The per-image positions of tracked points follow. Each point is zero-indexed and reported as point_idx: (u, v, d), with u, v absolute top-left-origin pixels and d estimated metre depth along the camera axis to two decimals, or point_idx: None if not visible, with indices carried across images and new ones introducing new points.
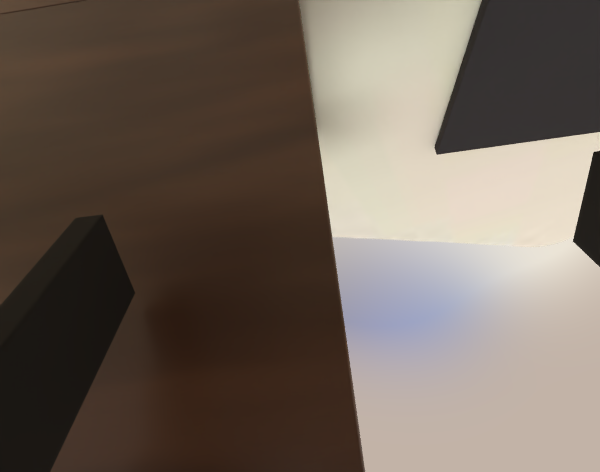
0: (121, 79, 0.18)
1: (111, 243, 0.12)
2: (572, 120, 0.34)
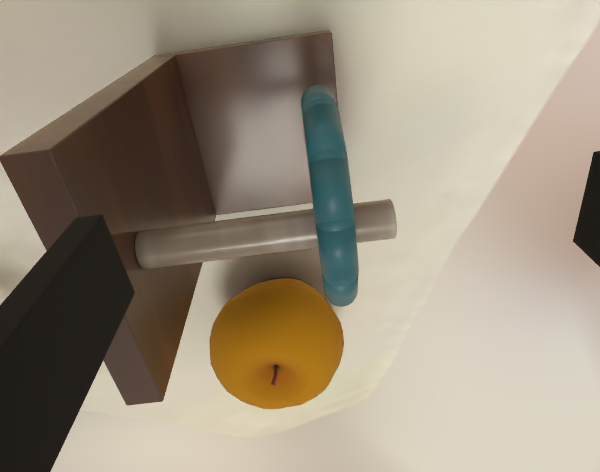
0: None
1: (111, 243, 0.12)
2: None
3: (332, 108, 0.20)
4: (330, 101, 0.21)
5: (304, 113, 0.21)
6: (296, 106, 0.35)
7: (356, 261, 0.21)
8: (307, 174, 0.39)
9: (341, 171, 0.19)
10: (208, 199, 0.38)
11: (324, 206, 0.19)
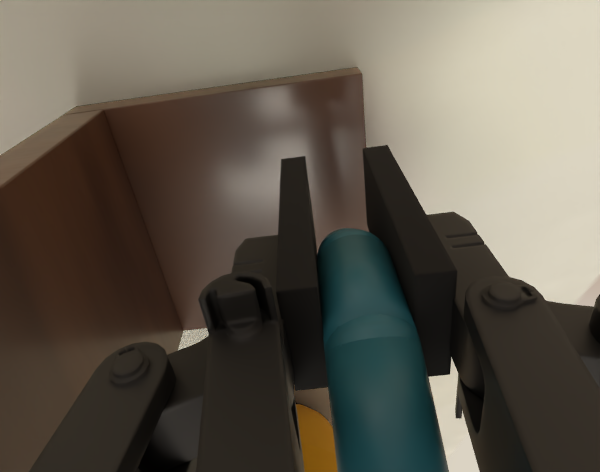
0: None
1: (308, 183, 0.14)
2: None
3: (408, 350, 0.07)
4: (400, 322, 0.08)
5: (330, 350, 0.08)
6: None
7: None
8: None
9: None
10: (168, 317, 0.25)
11: None
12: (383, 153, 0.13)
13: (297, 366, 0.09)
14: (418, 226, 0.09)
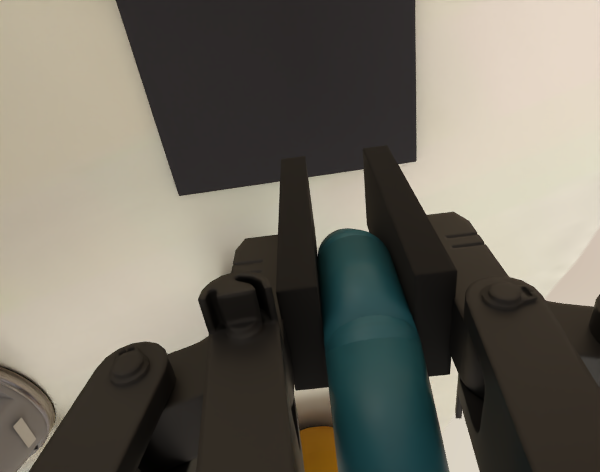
0: None
1: (308, 183, 0.14)
2: (382, 32, 0.31)
3: (409, 351, 0.07)
4: (401, 323, 0.08)
5: (331, 351, 0.08)
6: None
7: None
8: None
9: None
10: None
11: None
12: (383, 153, 0.13)
13: (297, 366, 0.09)
14: (418, 226, 0.09)
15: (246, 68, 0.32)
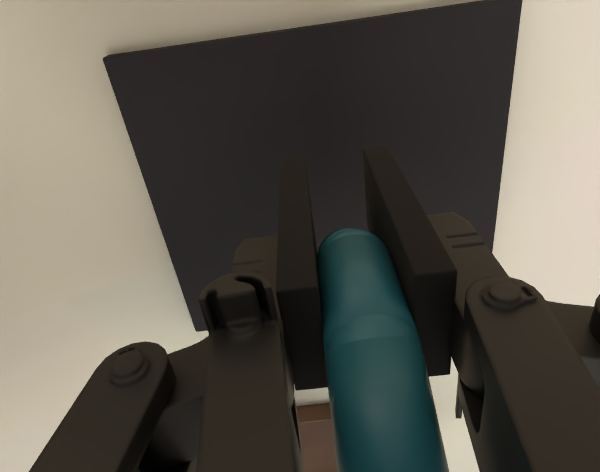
0: None
1: (308, 182, 0.14)
2: (462, 163, 0.24)
3: (409, 350, 0.07)
4: (400, 322, 0.08)
5: (330, 350, 0.08)
6: None
7: None
8: None
9: None
10: None
11: None
12: (383, 153, 0.13)
13: (297, 366, 0.09)
14: (418, 226, 0.09)
15: None
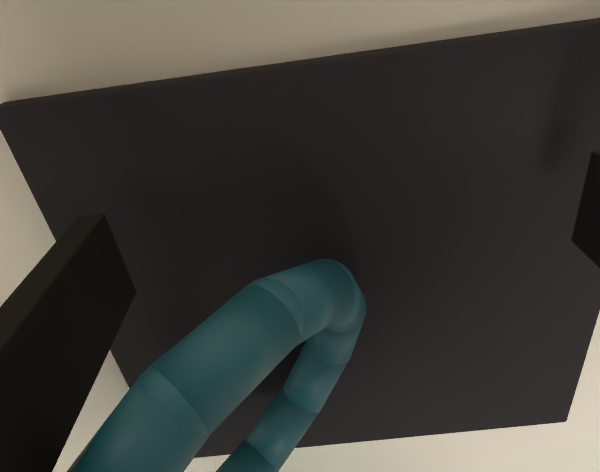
0: None
1: (113, 243, 0.12)
2: (554, 257, 0.16)
3: (168, 435, 0.08)
4: (186, 409, 0.08)
5: (138, 378, 0.09)
6: None
7: None
8: None
9: None
10: None
11: None
12: None
13: None
14: None
15: None
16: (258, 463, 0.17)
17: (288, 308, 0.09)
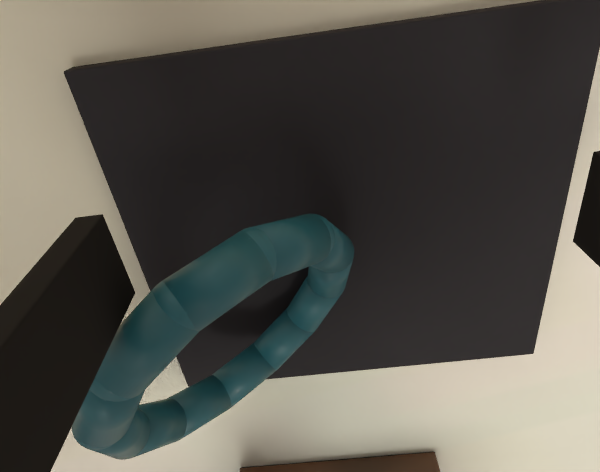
0: None
1: (112, 243, 0.12)
2: (515, 201, 0.20)
3: (168, 326, 0.12)
4: (181, 312, 0.12)
5: (154, 287, 0.12)
6: None
7: (122, 456, 0.16)
8: None
9: (99, 409, 0.12)
10: None
11: None
12: None
13: None
14: None
15: None
16: (259, 361, 0.21)
17: (264, 253, 0.13)
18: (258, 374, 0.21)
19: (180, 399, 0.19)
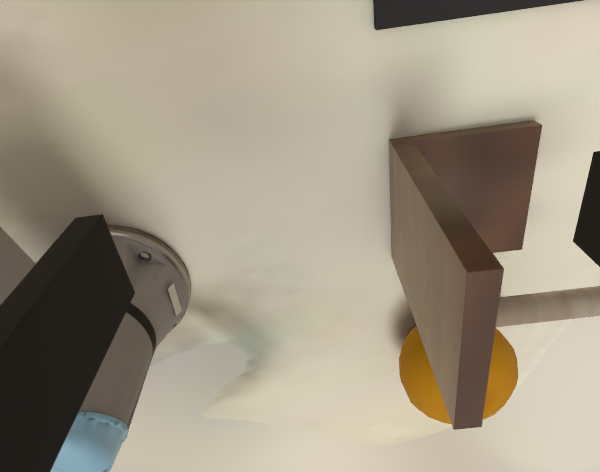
0: (404, 240, 0.41)
1: (112, 243, 0.12)
2: None
3: None
4: None
5: None
6: (500, 179, 0.44)
7: None
8: (495, 230, 0.47)
9: None
10: None
11: None
12: None
13: None
14: None
15: None
16: None
17: None
18: None
19: None
